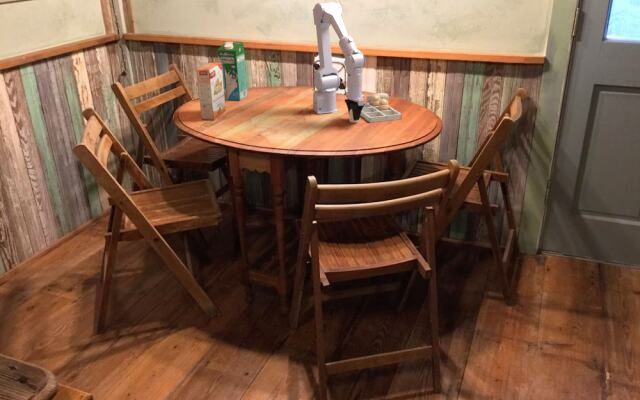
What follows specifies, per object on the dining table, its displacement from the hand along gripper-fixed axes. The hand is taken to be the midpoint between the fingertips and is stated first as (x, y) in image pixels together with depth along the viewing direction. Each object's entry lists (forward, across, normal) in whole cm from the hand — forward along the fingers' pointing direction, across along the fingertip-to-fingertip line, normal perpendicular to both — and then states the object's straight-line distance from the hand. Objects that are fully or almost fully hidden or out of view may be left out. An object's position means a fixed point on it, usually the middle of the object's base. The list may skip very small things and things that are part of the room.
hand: (354, 118), depth 219 cm
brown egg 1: (+1, +13, -15) cm, 20 cm away
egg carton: (+2, +6, -12) cm, 14 cm away
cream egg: (+2, 0, 0) cm, 2 cm away
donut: (0, +22, -22) cm, 31 cm away
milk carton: (+2, +54, +39) cm, 67 cm away
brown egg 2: (+1, +6, -15) cm, 16 cm away
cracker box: (+2, +30, +52) cm, 60 cm away
